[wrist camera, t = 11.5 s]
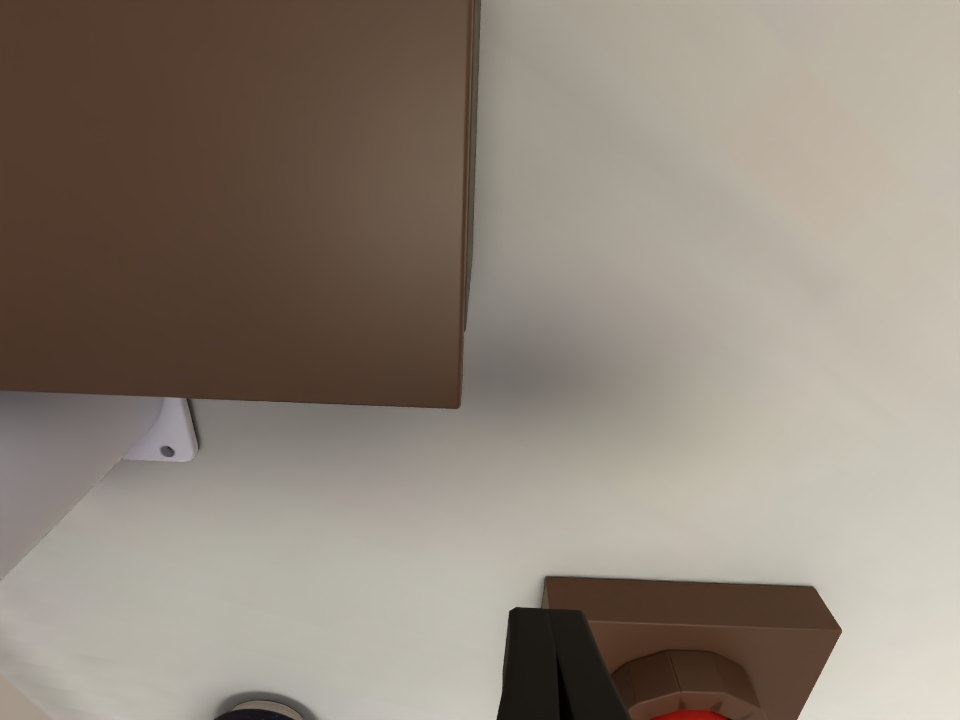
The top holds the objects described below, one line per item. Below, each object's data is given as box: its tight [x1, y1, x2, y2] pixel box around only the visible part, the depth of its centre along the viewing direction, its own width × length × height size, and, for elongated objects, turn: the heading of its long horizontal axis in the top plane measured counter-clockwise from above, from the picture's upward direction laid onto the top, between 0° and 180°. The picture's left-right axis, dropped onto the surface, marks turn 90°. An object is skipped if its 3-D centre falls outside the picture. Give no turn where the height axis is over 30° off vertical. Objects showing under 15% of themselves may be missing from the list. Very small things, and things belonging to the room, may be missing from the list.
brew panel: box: [542, 577, 842, 720], centre depth 25 cm, size 12×10×4 cm
